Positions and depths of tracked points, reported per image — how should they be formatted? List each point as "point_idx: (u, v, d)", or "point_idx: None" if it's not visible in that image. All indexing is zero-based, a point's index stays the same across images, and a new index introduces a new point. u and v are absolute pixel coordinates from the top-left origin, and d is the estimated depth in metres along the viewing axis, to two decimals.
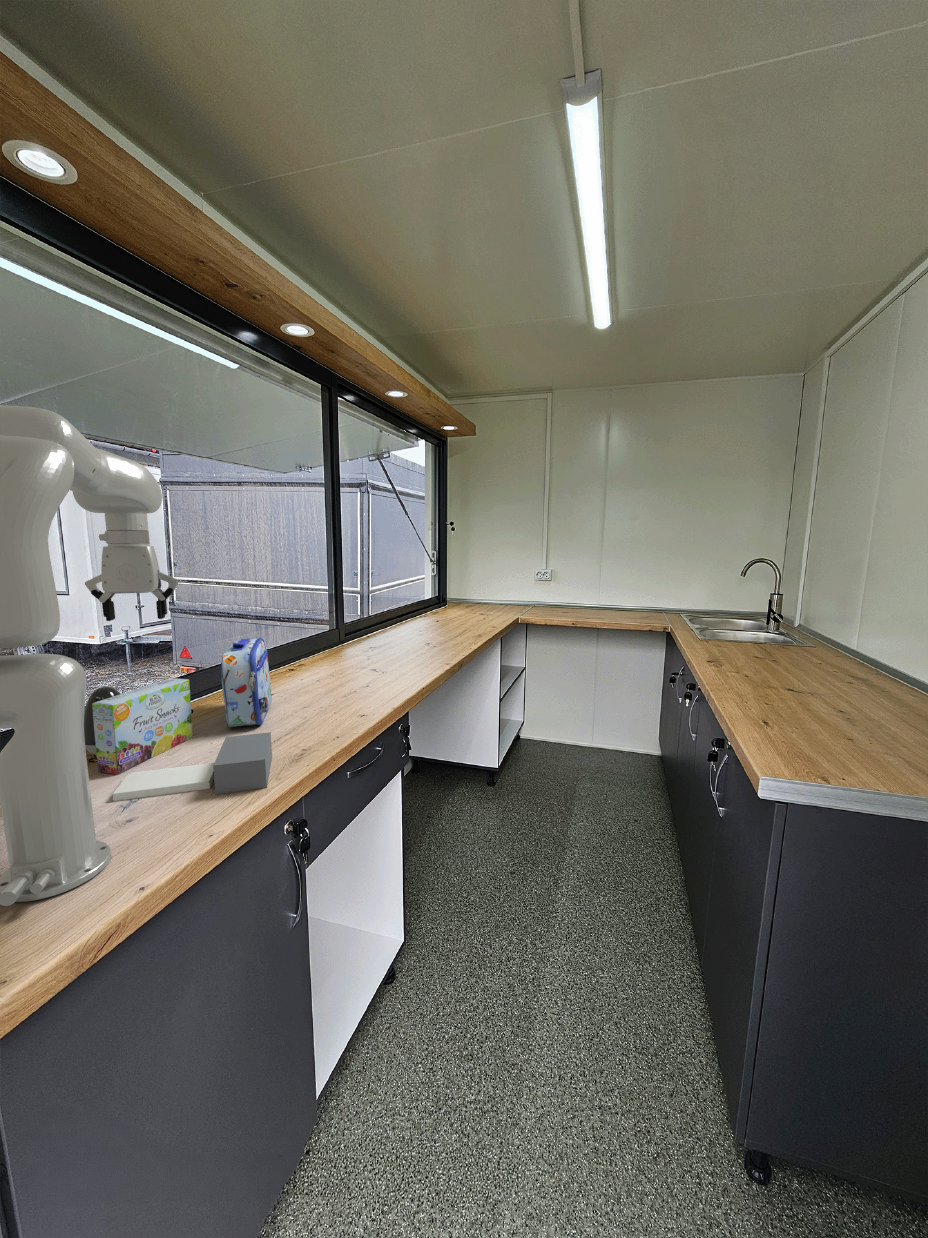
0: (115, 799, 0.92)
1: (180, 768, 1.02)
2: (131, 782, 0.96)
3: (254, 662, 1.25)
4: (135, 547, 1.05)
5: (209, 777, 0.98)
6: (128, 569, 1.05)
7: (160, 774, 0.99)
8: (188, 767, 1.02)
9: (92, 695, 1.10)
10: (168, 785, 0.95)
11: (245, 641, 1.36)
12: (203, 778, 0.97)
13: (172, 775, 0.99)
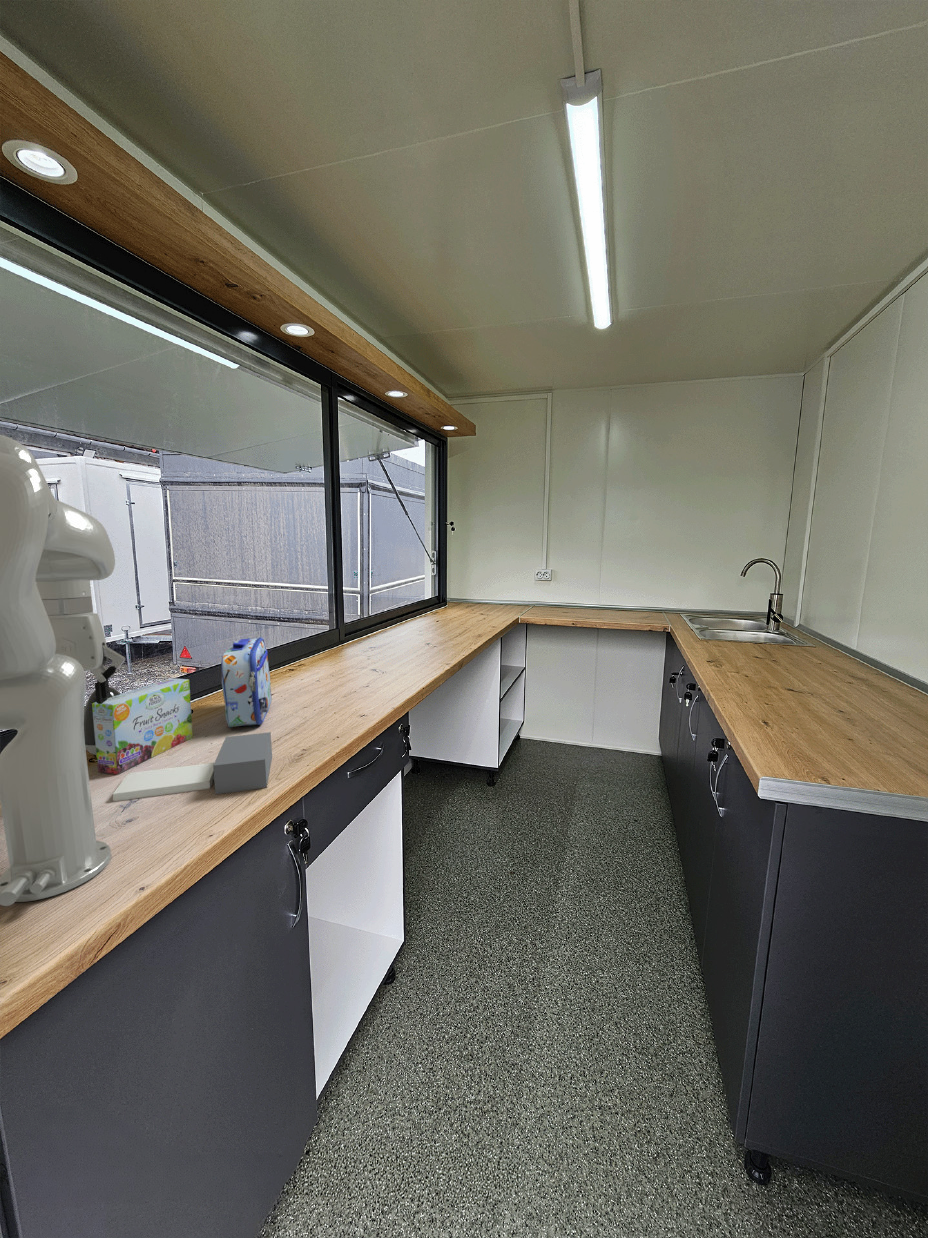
0: (115, 799, 0.92)
1: (180, 768, 1.02)
2: (131, 783, 0.96)
3: (254, 662, 1.25)
4: (73, 618, 0.88)
5: (209, 777, 0.98)
6: (65, 644, 0.88)
7: (160, 774, 0.99)
8: (188, 767, 1.02)
9: (92, 695, 1.10)
10: (168, 785, 0.95)
11: (245, 641, 1.36)
12: (203, 777, 0.98)
13: (172, 775, 0.99)
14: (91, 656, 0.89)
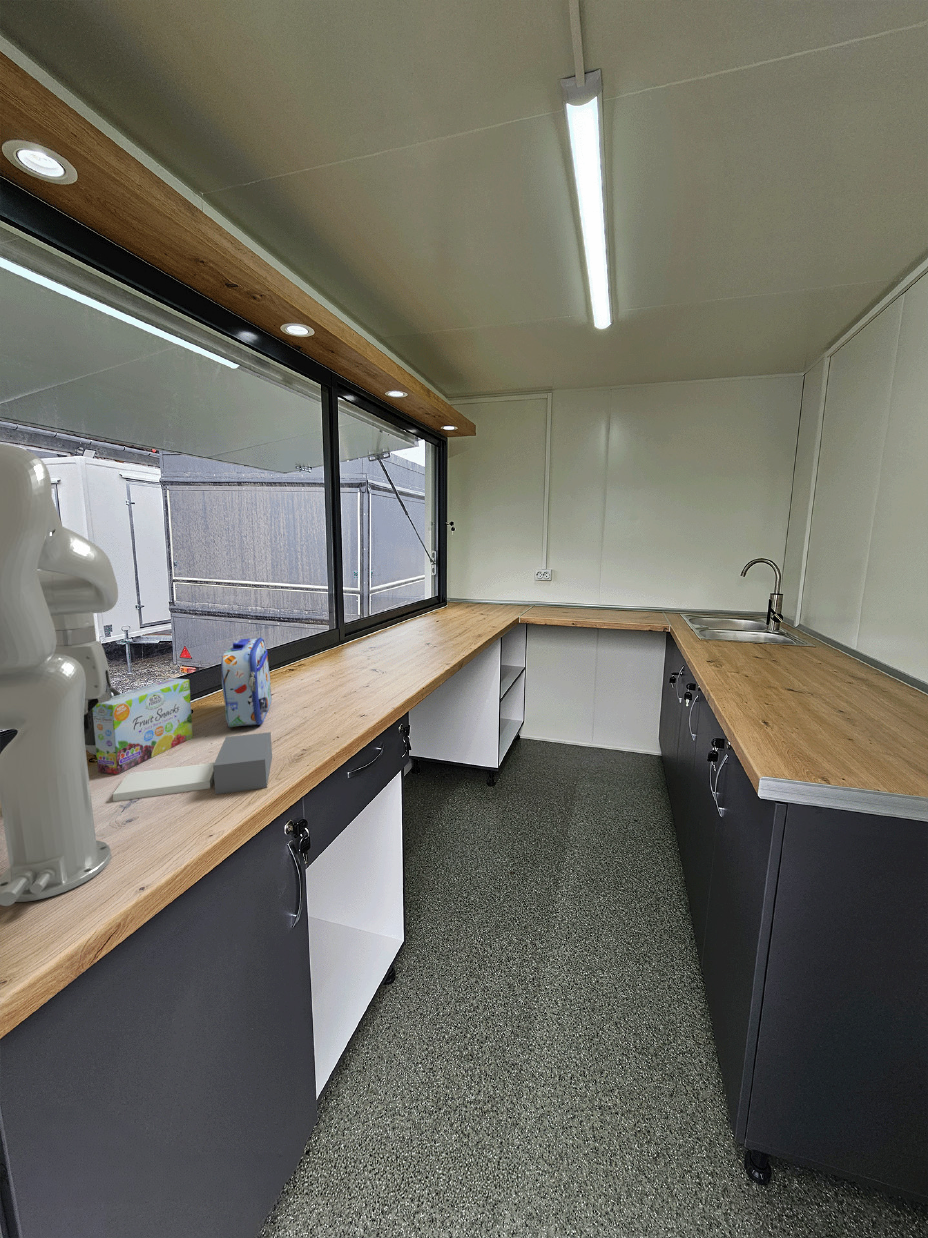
0: (115, 799, 0.92)
1: (180, 768, 1.02)
2: (131, 783, 0.96)
3: (254, 662, 1.25)
4: (77, 648, 0.89)
5: (209, 777, 0.98)
6: None
7: (160, 774, 0.99)
8: (188, 767, 1.02)
9: None
10: (168, 785, 0.95)
11: (245, 641, 1.36)
12: (204, 777, 0.98)
13: (172, 775, 0.99)
14: (95, 685, 0.90)
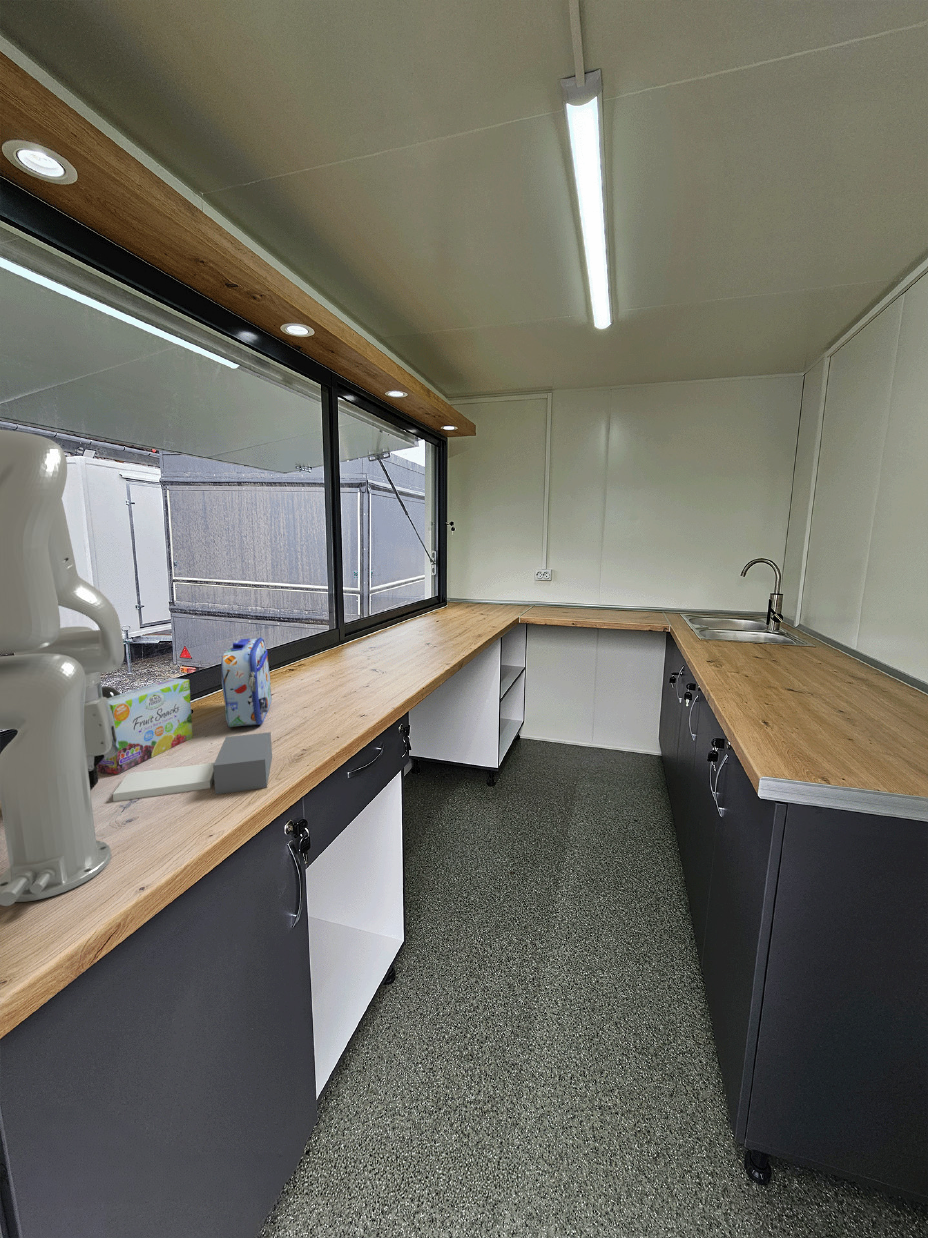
0: (115, 799, 0.92)
1: (180, 768, 1.02)
2: (131, 782, 0.96)
3: (254, 662, 1.25)
4: (83, 706, 0.90)
5: (209, 777, 0.98)
6: None
7: (160, 774, 0.99)
8: (188, 767, 1.02)
9: None
10: (169, 785, 0.95)
11: (245, 641, 1.36)
12: (204, 777, 0.98)
13: (172, 775, 0.99)
14: (101, 742, 0.92)
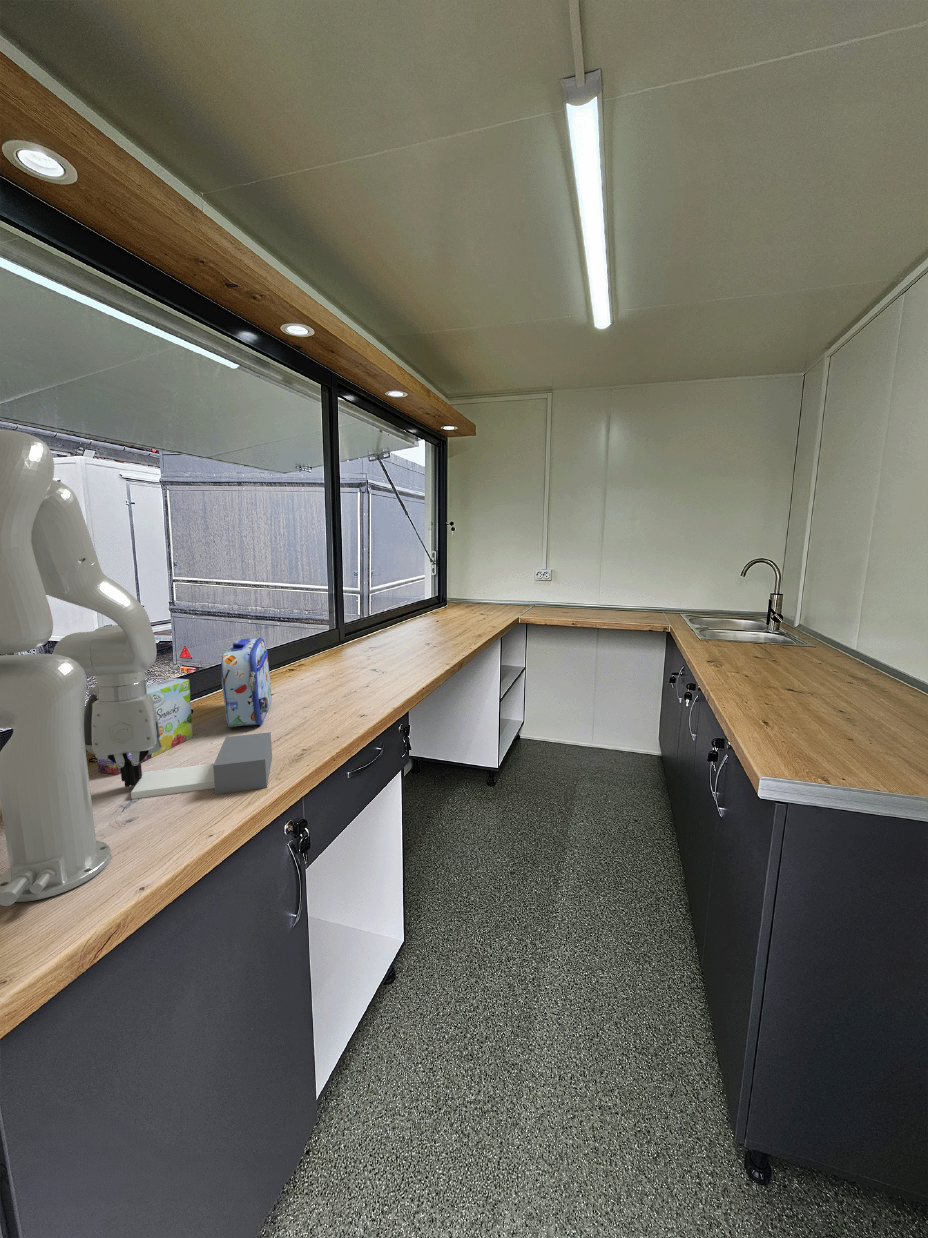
0: (133, 797, 0.92)
1: (196, 767, 1.03)
2: (148, 781, 0.96)
3: (254, 662, 1.25)
4: (130, 702, 0.92)
5: None
6: (122, 727, 0.92)
7: (176, 773, 1.00)
8: (204, 766, 1.03)
9: (92, 695, 1.10)
10: (185, 783, 0.95)
11: (245, 641, 1.36)
12: None
13: (188, 774, 0.99)
14: (147, 737, 0.94)
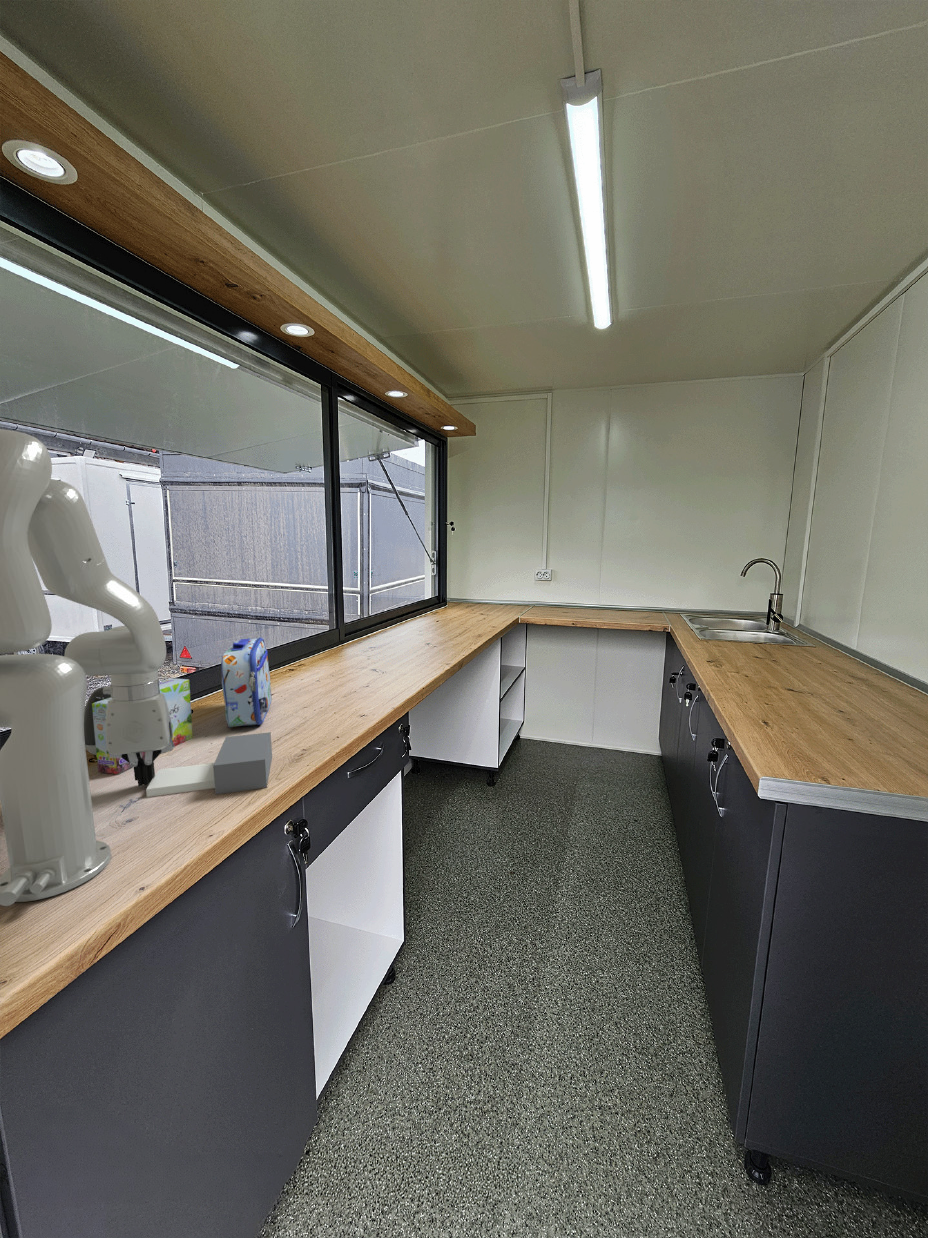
0: (148, 794, 0.93)
1: (209, 765, 1.03)
2: (162, 778, 0.97)
3: (254, 662, 1.25)
4: (144, 702, 0.93)
5: None
6: (136, 727, 0.93)
7: (190, 770, 1.01)
8: None
9: (92, 695, 1.10)
10: (200, 781, 0.96)
11: (245, 641, 1.36)
12: None
13: (202, 771, 1.00)
14: (160, 737, 0.94)
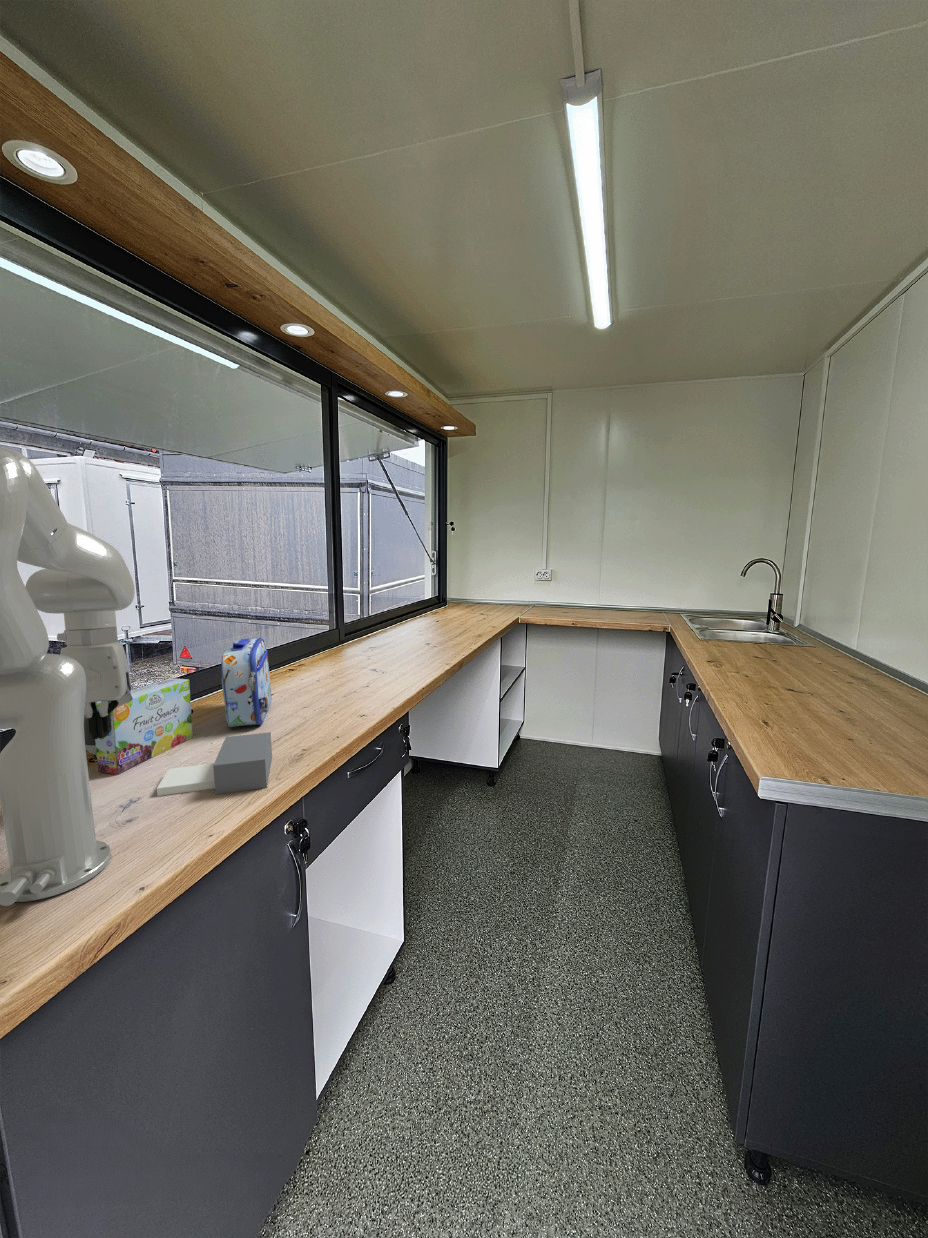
0: (159, 794, 0.94)
1: None
2: (172, 778, 0.98)
3: (254, 662, 1.25)
4: (99, 648, 0.89)
5: None
6: (90, 674, 0.89)
7: (199, 769, 1.01)
8: None
9: None
10: (210, 780, 0.97)
11: (245, 641, 1.36)
12: None
13: (211, 771, 1.01)
14: (115, 685, 0.90)
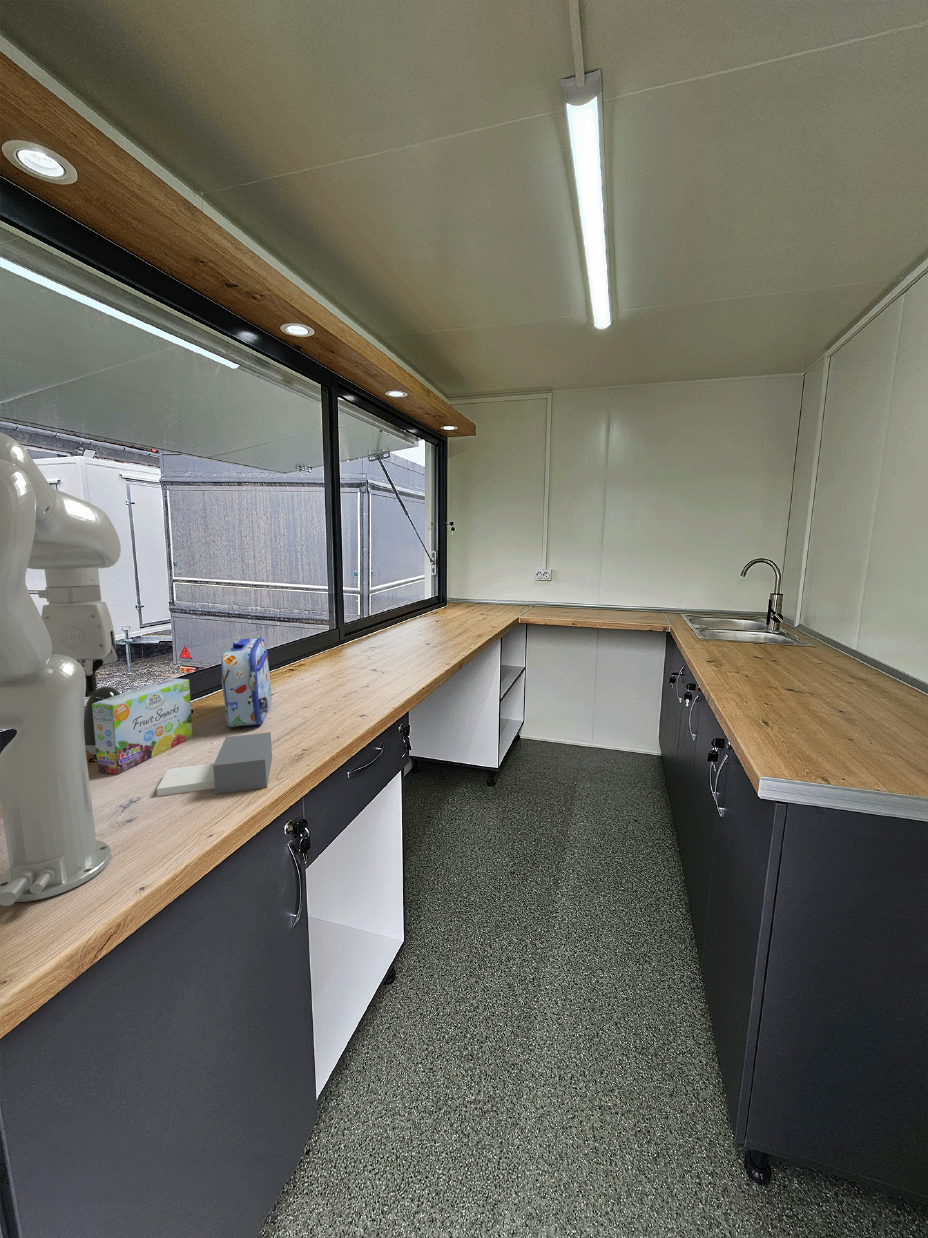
0: (159, 794, 0.93)
1: None
2: (172, 778, 0.97)
3: (254, 662, 1.25)
4: (82, 606, 0.88)
5: None
6: (73, 632, 0.88)
7: (199, 770, 1.01)
8: None
9: (92, 695, 1.10)
10: (210, 780, 0.97)
11: (245, 641, 1.36)
12: None
13: (211, 771, 1.01)
14: (99, 644, 0.89)
